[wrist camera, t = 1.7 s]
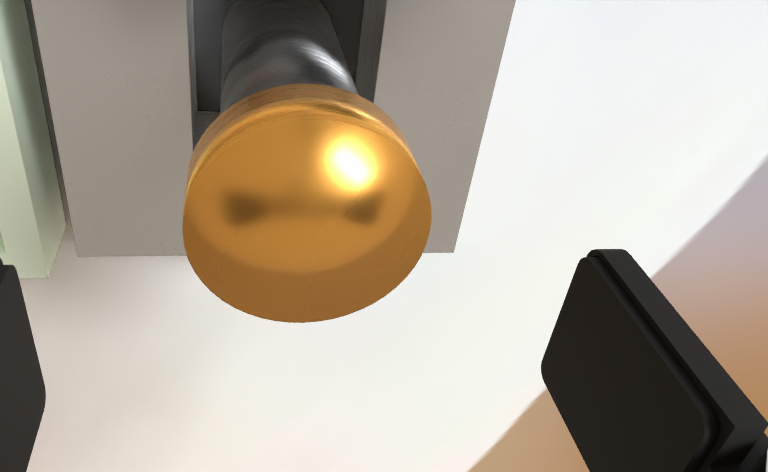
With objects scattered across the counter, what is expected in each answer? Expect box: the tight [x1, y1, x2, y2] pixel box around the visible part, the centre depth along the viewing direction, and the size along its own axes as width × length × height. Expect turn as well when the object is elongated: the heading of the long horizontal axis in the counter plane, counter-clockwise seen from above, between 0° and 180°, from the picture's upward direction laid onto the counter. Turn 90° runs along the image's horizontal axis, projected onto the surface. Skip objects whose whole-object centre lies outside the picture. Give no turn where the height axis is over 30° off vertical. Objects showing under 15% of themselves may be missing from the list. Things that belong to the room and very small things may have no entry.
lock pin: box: [182, 0, 431, 323], centre depth 16 cm, size 5×5×10 cm
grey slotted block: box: [31, 0, 516, 257], centre depth 19 cm, size 12×12×3 cm
